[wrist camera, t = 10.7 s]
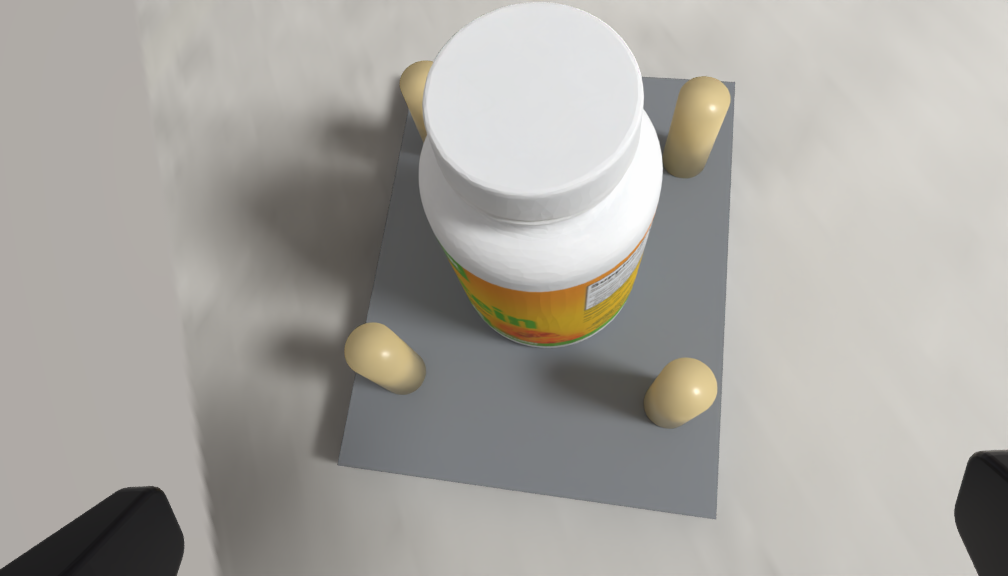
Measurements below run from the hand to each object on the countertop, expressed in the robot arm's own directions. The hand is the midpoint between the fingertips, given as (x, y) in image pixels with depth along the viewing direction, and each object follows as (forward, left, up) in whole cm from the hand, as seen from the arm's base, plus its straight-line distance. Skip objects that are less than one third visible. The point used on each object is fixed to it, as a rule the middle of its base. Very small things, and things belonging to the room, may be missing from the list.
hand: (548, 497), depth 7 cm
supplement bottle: (+7, +1, -12) cm, 14 cm away
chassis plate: (+7, +1, -13) cm, 15 cm away
